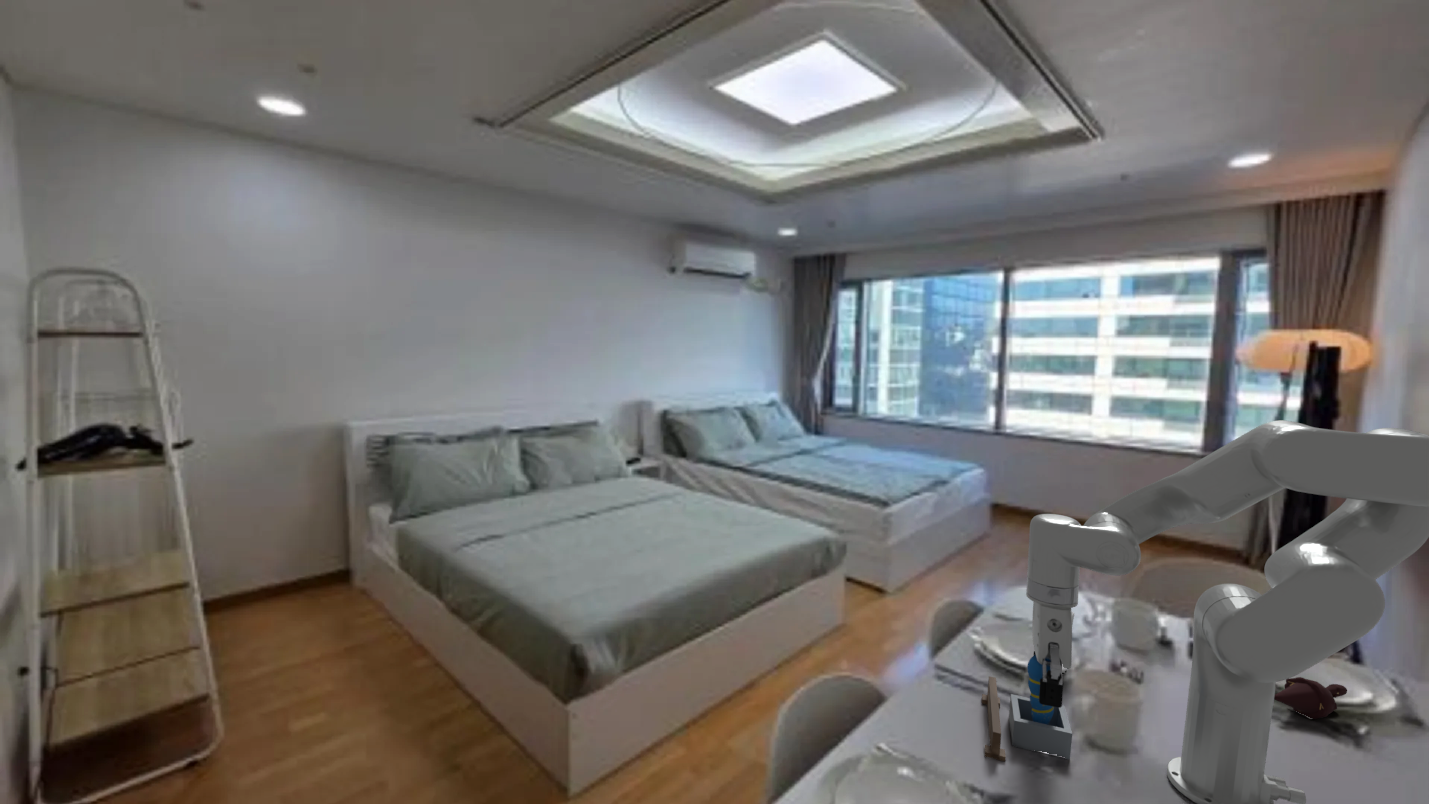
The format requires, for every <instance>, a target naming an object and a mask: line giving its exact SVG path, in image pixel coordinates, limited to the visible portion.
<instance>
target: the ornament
mask: <svg viewBox="0 0 1429 804" xmlns="http://www.w3.org/2000/svg"><path fill="white" fill-rule="evenodd" d="M1045 661H1050V659H1045ZM1026 668H1027V669H1026V670H1027V675H1028V676H1029V678H1028V681H1027V685H1028V688H1029V691H1030V694H1029V698H1030V702H1031V706H1032V711H1031V716H1032V719H1033V722H1038V723H1042V724H1047V725H1048V724H1049V722H1050V720H1051V718H1052V716H1053V713H1054V707H1053V706H1048V705H1043V704H1040V702H1039V690H1040V679H1042V665H1041V664H1040V663H1039V662H1038V661H1037V658H1036V655H1035V656H1034V655H1033V656H1031V657H1030V659H1029V661H1028V663H1027V667H1026ZM1046 670H1047V672H1048V670H1050V667H1046Z"/></svg>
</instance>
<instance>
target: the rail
mask: <svg viewBox="0 0 1429 804" xmlns="http://www.w3.org/2000/svg"><path fill="white" fill-rule="evenodd" d="M997 686H998V685H997V677H994V676H990V675H989V676H988V683H987V694H984V693H982V694H981V704H983V705H986V707H987V718H988V721H987V722H988V733H989V734H988V735H989V745H988V744H984V749H983V750H984V757H985V758H988V759H989V758H990V759H993V760H997V761H1001V762H1005V763H1006V760H1007V759H1006V749H1004V748H1001V744H1002V728H1001V727H1002V725H1001V717H1000V708H1001V699H1000V698H1001V697H999V696H998V687H997Z"/></svg>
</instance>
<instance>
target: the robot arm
mask: <svg viewBox="0 0 1429 804" xmlns="http://www.w3.org/2000/svg"><path fill="white" fill-rule="evenodd" d="M1284 489H1289V490H1291V491H1295V492H1299V493H1300V492H1301V493H1306V494H1313V495H1318V496H1325V497H1332V498H1333V497H1334V498H1338V499H1339V498H1341V499H1345V501H1344V502H1343V503H1342V504H1341V505H1340V506H1339V507H1338V508H1337V509H1336V510H1335V511H1333V512H1331V513H1330V514H1329V515H1328V516H1326V517H1325V518H1324V519H1323V520H1322V521H1320V522H1318V523H1317V524H1315V525H1314V526H1313V527H1311V528H1309V529H1307V530H1306V531H1305V532H1303V533H1302V534H1300V535H1299V536H1298V537H1296V538H1294V539H1293V540H1292V541H1289V542H1288V543H1287V544H1285V545H1283V546H1282V547H1280V548H1278V549H1277V550H1275V552H1273V553H1272V554H1271V555H1270V556H1269V557H1268V559H1267V560H1266V561H1265V565H1264V570H1263V571H1264V577H1265V579H1266V582H1267V584H1269V586H1270V589H1269V590H1267V591H1266V592H1265V593H1263V594H1262V593H1260V592H1258V591H1256V590H1255V589H1253V588H1250V587H1248V586H1245V585H1243V584H1237V583H1220V584H1215V585H1213V586H1211V587H1209V588H1208V589H1206V590H1205V591H1203V592H1202V593H1201V595H1200V596H1199V597H1198V599H1197V601H1196V602H1195V603H1196V604H1195V607H1194V612H1193V621H1192V622H1193V623H1192V624H1193V626H1192V628H1193V629H1192V630H1193V631H1192V632H1193V633H1192V636H1193V637H1192V641H1193V642H1192V644H1193V645H1192V658H1191V668H1190V669H1191V670H1190V680H1189V686H1188V695H1187V704H1186V711H1185V712H1186V713H1185V721H1184V729H1183V738H1182V746H1181V747H1182V748H1181V749H1182V750H1181V756H1178V757H1173V758H1172V759H1170V760H1169V761H1168V762H1167V767H1166V775H1167V778H1168V780H1169V781H1170V783H1171V784H1172V785H1173V786H1174V787H1175V788H1176V789H1177V790H1178V791H1179V792H1180V793H1181V794H1182V795H1183V796H1185V797H1186V798H1187V799H1188V800H1191V801H1192V802H1194V803H1195V804H1275V802H1274V801H1278V800H1279V799H1280V800H1284V801H1287V802H1290V803H1294V804H1307V796H1306V793H1305V791H1304V790H1302V789H1300V788H1295V787H1291V786H1287V783H1286V780H1285V778H1284V777H1279V776H1278V777H1277V776H1274V775H1268V774H1266V773H1265V769H1266V762H1267V754H1268V753H1267V752H1268V748H1269V747H1268V746H1269V740H1270V732H1271V731H1270V730H1271V724H1272V715H1273V709H1274V703H1275V699H1274V696H1275V694H1276V683H1277V682H1282V681H1286V679H1290V678H1295V677H1297V676H1298V675H1299V674H1301V673H1303V672H1305V671H1306V670H1309V669H1310V668H1312V667H1314V666H1315V665H1317V664H1319V663H1321V662H1322V661H1324V660H1326V659H1328V658H1330V657H1331V656H1333V655H1334V654H1336V653H1338V652H1340V651H1341V650H1343V649H1344V648H1347V647H1348V646H1350V645H1351V644H1353V643H1355V642H1356V641H1359V639H1361V638H1363V637H1365V636H1366V635H1367V634H1368V633H1370V631H1372V630H1374V628H1375V627H1376V626H1377V625H1378V623H1379V622H1380V620H1381V618H1382V617H1383V616H1384V615H1383V614H1384V611H1385V607H1386V599H1385V595H1384V591H1383V589H1382V587H1381V586H1380V584H1379V583H1378V582H1377V580H1378V579H1380V577H1382V576H1383V575H1385V574H1386V573H1388V572H1389V571H1391V570H1392V569H1393V568H1395V567H1396V566H1398V565H1399V564H1401V563H1402V562H1404V560H1407V559H1408V558H1409V557H1411V556H1412V555H1414V554H1415V553H1416V552H1417V551H1418V550H1419V549H1421V547H1422V546H1423V545H1424V544H1425V543H1426V542H1427V540H1428V539H1429V434H1425V433H1421V432H1418V431H1414V430H1410V429H1405V428H1399V427H1382V428H1375V429H1372V430H1369V431H1367V432H1365V433H1364V432H1356V431H1355V432H1354V431H1346V430H1345V431H1344V430H1338V429H1337V430H1336V429H1330V428H1329V429H1328V428H1319V427H1314V426H1310V425H1307V424H1305V423H1300V422H1297V421H1292V420H1285V419H1284V420H1282V419H1281V420H1278V419H1277V420H1273V421H1268V422H1266V423H1263V424H1261V425H1258V426H1256V427H1254V428H1253V429H1250V430H1248V431H1247V432H1245V433H1244V434H1242V435H1240V436H1239V437H1236V438H1234V440H1232V441H1230V442H1228V443H1226V444H1225V445H1223V446H1221V447H1220V448H1218V449H1216V450H1214V451H1213V452H1211V453H1209V454H1207V455H1206V456H1204V457H1202V458H1200V459H1198V460H1197V461H1195V462H1194V463H1192V464H1190V465H1187V466H1186V467H1185V468H1183V469H1180V470H1179V471H1177V472H1175V473H1173V474H1171V475H1168V476H1165V477H1163V478H1161V479H1159V480H1157V481H1155V482H1152V483H1150V484H1147V485H1145V486H1143V487H1140V488H1139V489H1136V490H1134V491H1132V492H1130V493H1128V494H1126V495H1125V496H1123V497H1120V498H1119V499H1117V500H1115V501H1114V502H1112V503H1110V504H1108V505H1107V506H1105V507H1104V508H1102V509H1100V510H1098V511H1097V512H1095V513H1094V514H1092V515H1091V516H1090V517H1088V519H1087V520H1085V522H1084V524H1083V525H1082V524H1081V523H1080V522H1079V521H1078V520H1076V519H1075V518H1073V517H1070V516H1067V515H1062V514H1057V513H1056V514H1055V513H1040V514H1037V515H1035V516H1033V518H1032V519H1031V520H1030V524H1029V535H1028V536H1029V537H1028V551H1027V552H1028V553H1027V554H1028V555H1027V556H1028V557H1027V572H1026V573H1027V574H1026V589H1025V590H1026V591H1025V592H1026V594H1025V595H1026V597H1027V599H1029V600H1030V601H1032V602H1033V603H1032V604H1033V605H1032V625H1031V626H1032V627H1031V628H1032V631H1031V633H1032V645H1033V649H1034V650H1033V656H1035V655H1036V658H1037V661H1038V662H1039V663H1040V664H1041V665H1042V679H1040V690H1039V702H1040V704H1043V705H1048V706H1053V707H1058V708H1061V707H1062V705H1063V693H1064V683H1063V682H1064V681H1063V679H1064V678H1063V674H1062V664H1063V667H1064V668H1067V670H1070V669H1071V668H1072V665H1073V664H1072V662H1073V660H1072V658H1073V657H1072V655H1073V654H1072V653H1073V651H1072V650H1073V646H1072V645H1073V625H1072V612H1073V611H1072V608H1075V607H1077V606H1078V605H1079V604H1078V603H1079V592H1080V591H1079V590H1080V588H1079V587H1080V572H1081V568H1083V569H1085V570H1089V571H1092V572H1096V573H1099V574H1103V575H1105V576H1115V577H1117V576H1118V577H1119V576H1125V575H1128V574H1131V573H1132V572H1134V571H1135V570H1136V569H1137V568H1138V566H1139V565H1140V563H1141V559H1142V552H1141V548H1140V544H1142V543H1144V542H1146V541H1147V540H1149V539H1150V538H1153V537H1155V536H1157V535H1159V534H1161V533H1163V532H1165V531H1169V530H1170V529H1173V528H1176V527H1180V526H1185V525H1193V524H1199V525H1200V524H1201V525H1202V524H1203V525H1204V524H1213V523H1218V522H1220V523H1221V522H1223V521H1225V520H1228V519H1229V518H1231V517H1233V516H1235V515H1237V514H1238V513H1240V512H1242V511H1244V510H1246V509H1248V508H1250V507H1252V506H1253V505H1256V504H1257V503H1259V502H1261V501H1263V500H1265V499H1267V498H1269V497H1271V496H1272V495H1274V494H1276V493H1278V492H1281V491H1282V490H1284ZM1071 611H1072V612H1071ZM1045 659H1050V661H1045ZM1046 667H1050V670H1048V672H1047V670H1046Z"/></svg>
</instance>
